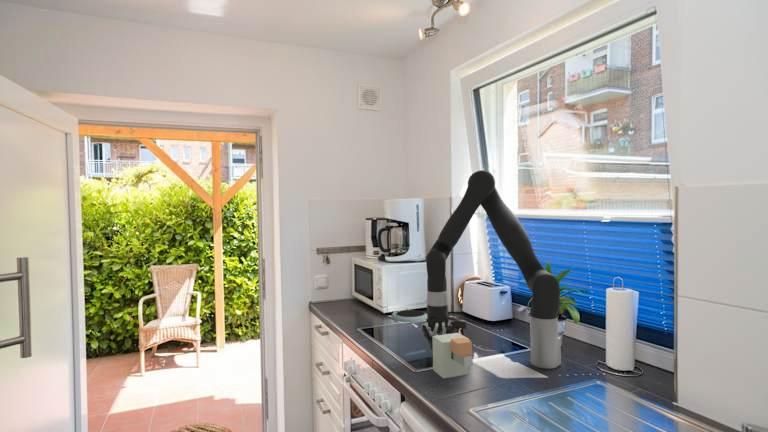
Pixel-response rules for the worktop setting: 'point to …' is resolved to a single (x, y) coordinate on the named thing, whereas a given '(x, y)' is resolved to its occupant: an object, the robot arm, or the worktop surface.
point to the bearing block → (446, 357)
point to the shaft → (460, 358)
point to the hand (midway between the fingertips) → (438, 349)
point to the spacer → (461, 346)
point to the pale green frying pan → (409, 316)
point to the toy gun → (457, 323)
